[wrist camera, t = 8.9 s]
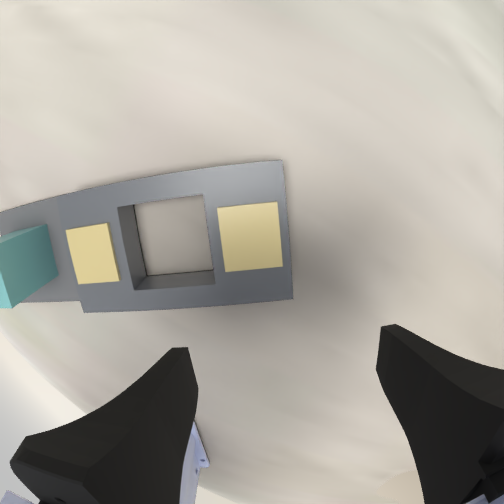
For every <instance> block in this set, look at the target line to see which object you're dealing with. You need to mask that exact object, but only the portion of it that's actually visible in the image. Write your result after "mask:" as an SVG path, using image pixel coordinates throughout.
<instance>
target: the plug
mask: <svg viewBox="0 0 504 504" xmlns="http://www.w3.org/2000/svg"><path fill="white" fill-rule="evenodd" d="M58 275H59V274H58V270H57V266H56V262H55V258H54V254H53V250H52V246H51V241H50V237H49V232H48V227H47V224H45V225H40V226H35V227H31V228H26V229H22V230H17V231H13V232H11V233H8V234H6V235H3V236H1V237H0V308H13V307H15V306H16V305H17V304H19V303H20V302H21V301H23V300H24V299H25V298H27V297H28V296H30V295H31V294H32V293H34V292H35V291H37V290H38V289H39V288H41V287H42V286H44V285H45V284H47V283H48V282H50V281H51V280H52V279H54V278H55V277H57V276H58Z"/></svg>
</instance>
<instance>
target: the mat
mask: <svg viewBox="0 0 504 504" xmlns="http://www.w3.org/2000/svg"><path fill="white" fill-rule="evenodd" d="M45 224H47V227H48V232H49V237H50V241H51V246H52V250H53V254H54V258H55V262H56V266H57V270H58V274H59V275H58V276H57V277H55V278H54V279H52V280H51V281H50V282H48V283H47V284H45V285H44V286H42V287H41V288H39V289H38V290H37V291H35V292H34V293H32V294H31V295H30V296H28V297H27V298H25V299H24V300H23V301H21V302H20V303H25V302H62V301H80V299H79V295H78V292H77V289H76V285H75V281H74V278H73V274H72V270H71V266H70V262H69V258H68V254H67V250H66V245H65V241H64V236H63V231H62V226H61V221H60V216H59V210H58V204H57V198H56V197H53V198H49V199H45V200H42V201H38V202H34V203H31V204H27V205H23V206H20V207H17V208H13V209H10V210H6V211H3V212H0V235H1V236H3V235H6V234H8V233H11V232H13V231H17V230H22V229H26V228H31V227H35V226H40V225H45Z"/></svg>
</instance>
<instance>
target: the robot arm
mask: <svg viewBox="0 0 504 504" xmlns="http://www.w3.org/2000/svg"><path fill="white" fill-rule="evenodd" d="M376 371H377V374H378V377H379V380H380V383H381V385H382V388H383V391H384V393H385V395H386V397H387V398H388V400H389V402H390V404H391V406H392V408H393V410H394V412H395V414H396V416H397V418H398V420H399V422H400V424H401V426H402V428H403V430H404V432H405V434H406V436H407V439H408V441H409V444H410V447H411V450H412V453H413V457H414V460H415V463H416V467H417V470H418V474H419V478H420V482H421V487H422V492H423V496H424V502H425V504H504V370H502V369H498V368H494V367H489V366H486V365H482V364H479V363H476V362H473V361H470V360H468V359H465V358H462V357H460V356H457V355H455V354H453V353H451V352H449V351H446V350H444V349H442V348H440V347H438V346H436V345H434V344H432V343H431V342H429V341H427V340H425V339H423V338H421V337H420V336H418V335H416V334H414V333H412V332H410V331H409V330H407V329H405V328H403V327H401V326H399V325H397V324H393V325H387V326H382V327H381V332H380V341H379V350H378V358H377V365H376ZM197 399H198V385H197V381H196V377H195V374H194V370H193V366H192V362H191V358H190V354H189V350H188V347H181V348H171V349H170V350H169V351H168V352H167V353H166V354H165V355H164V356H163V357H162V358H161V359H160V360H159V361H158V362H156V363H155V364H154V365H153V366H152V367H151V368H150V369H149V370H148V371H147V372H146V373H145V374H144V375H143V376H142V377H140V378H139V379H138V380H137V381H136V382H134V383H133V384H132V385H131V386H130V387H128V388H127V389H126V390H125V391H124V392H122V393H121V394H120V395H118V396H117V397H115V398H114V399H113V400H111V401H110V402H108V403H107V404H105V405H103V406H102V407H100V408H98V409H97V410H95V411H93V412H91V413H89V414H87V415H85V416H83V417H82V418H80V419H77V420H75V421H73V422H71V423H68V424H66V425H63V426H61V427H58V428H55V429H52V430H49V431H45V432H42V433H38V434H34V435H30V436H26V437H25V439H24V440H23V442H22V443H21V445H20V446H19V448H18V449H17V451H16V453H15V454H14V456H13V457H12V459H11V460H10V466H11V468H12V470H13V472H14V473H15V475H16V476H17V477H18V478H19V479H20V481H22V483H23V484H24V485H25V486H26V487H27V488H28V489H29V490H30V491H31V492H32V493H33V494H34V495H35V496H36V497H38V498H39V499H40V502H39V504H195V498H196V491H197V485H198V478H199V471H200V467H209V465H210V463H209V460H208V458H207V455H206V452H205V450H204V447H203V444H202V442H201V439H200V436H199V433H198V431H197V428H196V425H195V422H194V418H195V414H196V408H197ZM0 504H33V503H32V502H30V501H29V500H27V499H25V498H22V497H20V496H19V495H17V494H15V493H13V492H11V491H6V493H5V495H4V496H3V498H2V500H1V502H0Z"/></svg>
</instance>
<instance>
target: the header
mask: <svg viewBox="0 0 504 504" xmlns="http://www.w3.org/2000/svg"><path fill="white" fill-rule="evenodd" d="M202 194H203V198H204V205H205V213H206V221H207V228H208V235H209V242H210V249H211V256H212V263H213V269H214V270H212V271H201V272H190V273H179V274H168V275H156V276H146V272H145V267H144V262H143V258H142V253H141V248H140V242H139V237H138V232H137V226H136V220H135V214H134V208H133V204H139V203H146V202H152V201H159V200H165V199H172V198H179V197H187V196H194V195H202ZM56 198H57V204H58V210H59V216H60V221H61V226H62V231H63V236H64V241H65V245H66V250H67V254H68V258H69V262H70V266H71V270H72V274H73V278H74V281H75V285H76V289H77V292H78V295H79V299H80V302H81V305H82V308H83V312H84V313H91V312H123V311H147V310H166V309H182V308H197V307H211V306H224V305H236V304H248V303H258V302H269V301H279V300H288V299H293V286H292V270H291V256H290V242H289V229H288V216H287V205H286V193H285V182H284V172H283V161H282V160H273V161H262V162H252V163H243V164H234V165H225V166H217V167H210V168H202V169H195V170H188V171H181V172H175V173H169V174H163V175H157V176H151V177H145V178H140V179H134V180H129V181H124V182H119V183H114V184H109V185H104V186H99V187H95V188H90V189H86V190H81V191H77V192H73V193H69V194H65V195H61V196H57V197H56Z"/></svg>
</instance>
